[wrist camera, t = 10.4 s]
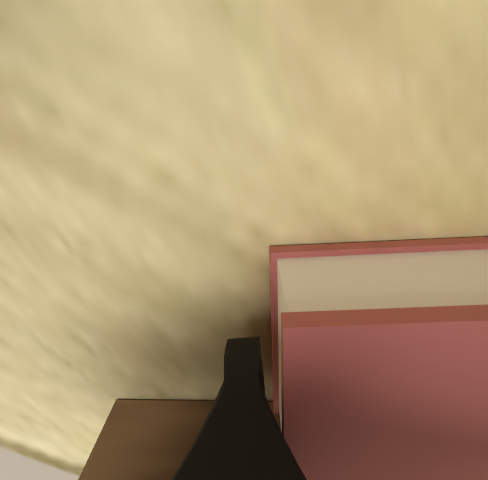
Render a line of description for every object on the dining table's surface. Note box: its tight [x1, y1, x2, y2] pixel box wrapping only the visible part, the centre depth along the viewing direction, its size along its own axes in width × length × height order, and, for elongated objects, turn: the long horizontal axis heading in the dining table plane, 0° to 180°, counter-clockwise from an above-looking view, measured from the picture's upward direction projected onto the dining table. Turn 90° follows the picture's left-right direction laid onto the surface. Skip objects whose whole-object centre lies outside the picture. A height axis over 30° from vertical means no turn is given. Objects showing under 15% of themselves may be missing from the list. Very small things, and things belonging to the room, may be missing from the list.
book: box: [269, 236, 488, 480], centre depth 9 cm, size 10×7×4 cm
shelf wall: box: [78, 400, 281, 480], centre depth 10 cm, size 22×2×4 cm, turn 90°
